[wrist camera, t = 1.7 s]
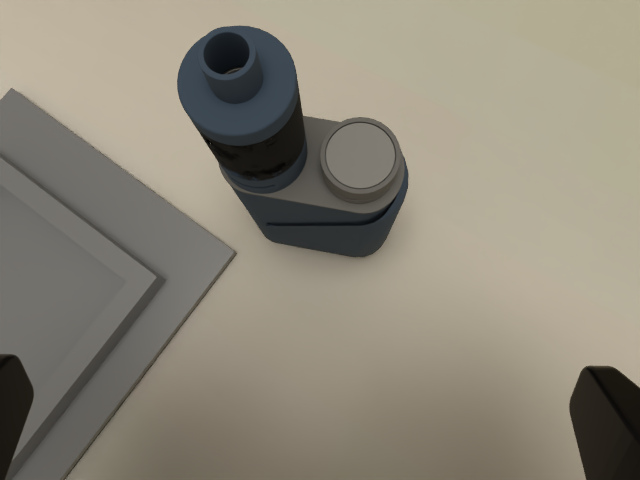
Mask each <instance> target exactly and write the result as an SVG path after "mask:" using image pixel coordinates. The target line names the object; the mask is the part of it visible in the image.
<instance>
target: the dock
mask: <svg viewBox="0 0 640 480" xmlns="http://www.w3.org/2000/svg"><path fill="white" fill-rule="evenodd" d="M236 254H237V253H236V252H235V251H233V250H232V249H231V248H229V247H228V246H227V245H225V244H224V243H222V242H221V241H220V240H218V239H217V238H216V237H214V236H213V235H212V234H210V233H209V232H207V231H206V230H205V229H203V228H202V227H201V226H199V225H198V224H197V223H195V222H194V221H192V220H191V219H190V218H188V217H187V216H186V215H184V214H183V213H182V212H180V211H179V210H177V209H176V208H175V207H173V206H172V205H171V204H169V203H168V202H167V201H165V200H164V199H162V198H161V197H160V196H158V195H157V194H156V193H154V192H153V191H152V190H150V189H149V188H147V187H146V186H145V185H143V184H142V183H141V182H139V181H138V180H137V179H135V178H134V177H133V176H131V175H130V174H128V173H127V172H126V171H124V170H123V169H122V168H120V167H119V166H118V165H116V164H115V163H113V162H112V161H111V160H109V159H108V158H107V157H105V156H104V155H103V154H101V153H100V152H98V151H97V150H96V149H94V148H93V147H92V146H90V145H89V144H88V143H86V142H85V141H83V140H82V139H81V138H79V137H78V136H77V135H75V134H74V133H73V132H71V131H70V130H68V129H67V128H66V127H64V126H63V125H62V124H60V123H59V122H58V121H56V120H55V119H53V118H52V117H51V116H49V115H48V114H47V113H45V112H44V111H43V110H41V109H40V108H39V107H37V106H36V105H34V104H33V103H32V102H30V101H29V100H28V99H26V98H25V97H24V96H22V95H21V94H19V93H18V92H17V91H15V90H14V89H13V88H11V89H10V90H9V91H8V92H7V93H6V95H5V96H4V97H3V98H2V99H1V100H0V354H14V355H16V356H17V357H19V359H20V360H21V362H22V364H23V366H24V369H25V371H26V373H27V375H28V377H29V379H30V381H31V383H32V386H33V389H34V398H33V403H32V406H31V409H30V412H29V414H28V417H27V420H26V423H25V426H24V428H23V431H22V434H21V437H20V440H19V442H18V445H17V448H16V451H15V454H14V457H13V459H12V462H11V465H10V468H9V471H8V473H7V476H6V479H5V480H64V479H65V477H66V476H67V475H68V473H69V472H70V471H71V469H72V468H73V467H74V465H75V464H76V463H77V462H78V460H79V459H80V458H81V456H82V455H83V454H84V452H85V451H86V450H87V448H88V447H89V446H90V445H91V443H92V442H93V441H94V439H95V438H96V437H97V435H98V434H99V433H100V431H101V430H102V429H103V428H104V426H105V425H106V424H107V422H108V421H109V420H110V418H111V417H112V416H113V414H114V413H115V412H116V411H117V409H118V408H119V407H120V405H121V404H122V403H123V401H124V400H125V399H126V397H127V396H128V395H129V394H130V392H131V391H132V390H133V388H134V387H135V386H136V384H137V383H138V382H139V380H140V379H141V378H142V377H143V375H144V374H145V373H146V371H147V370H148V369H149V367H150V366H151V365H152V363H153V362H154V361H155V360H156V358H157V357H158V356H159V354H160V353H161V352H162V350H163V349H164V348H165V346H166V345H167V344H168V342H169V341H170V340H171V339H172V337H173V336H174V335H175V333H176V332H177V331H178V329H179V328H180V327H181V325H182V324H183V323H184V322H185V320H186V319H187V318H188V316H189V315H190V314H191V312H192V311H193V310H194V308H195V307H196V306H197V305H198V303H199V302H200V301H201V299H202V298H203V297H204V295H205V294H206V293H207V291H208V290H209V289H210V288H211V286H212V285H213V284H214V282H215V281H216V280H217V278H218V277H219V276H220V274H221V273H222V272H223V271H224V269H225V268H226V267H227V265H228V264H229V263H230V261H231V260H232V259H233V257H234V256H235V255H236Z"/></svg>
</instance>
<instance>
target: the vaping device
mask: <svg viewBox="0 0 640 480" xmlns="http://www.w3.org/2000/svg"><path fill="white" fill-rule="evenodd" d="M177 86H178V94H179V99H180V101H181V104H182V106H183V108H184V110H185V111H186V113H187V114H188V116H189V117H190V119H191V120H192V122H193V124H194V125H195V127H196V128H197V129H198V131H199V133H200V134H201V136H202V137H203V139H204V140H205V142H206V144H207V145H208V147H209V148H210V150H211V151H212V153H213V154H214V156H215V157H216V159H217V160H218V162H219V167H220V170H221V173H222V174H223V176H224V178H225V180H226V181H227V182H228V183H229V184H230V185H231V187H232V188H233V190H234V191H235V193H236V194H237V196H238V197H239V199H240V200H241V202H242V203H243V204H244V206H245V207H246V209H247V210H248V212H249V213H250V215H251V216H252V218H253V219H254V221H255V222H256V224H257V225H258V227H259V228H260V230H261V231H262V233H263V234H264V236H265V237H266V238H268V239H269V240H271V241H273V242H276V243H281V244H286V245H292V246H297V247H302V248H308V249H313V250H319V251H324V252H330V253H335V254H340V255H346V256H352V257H365V256H367V255H370V254H373V253H374V252H375V251H376V250H378V249H379V248H380V247H381V246H382V244H383V243H384V241H385V240H386V238H387V236H388V233H389V231H390V229H391V227H392V225H393V223H394V221H395V218H396V216H397V214H398V212H399V210H400V208H401V205H402V203H403V201H404V198H405V195H406V192H407V189H408V170H407V166H406V162H405V158H404V157H403V154H402V152H401V149H400V146H399V143H398V141H397V139H396V137H395V135H394V134H393V133H392V131H391V130H390V129H389V128H388V127H387V126H385V125H384V124H382V123H381V122H379V121H376V120H374V119H370V118H363V117H358V118H351V119H347V120H344V121H342V122H336V121H330V120H324V119H318V118H312V117H306V116H303V114H302V108H301V101H300V94H299V88H298V81H297V74H296V69H295V65H294V61H293V59H292V57H291V55H290V53H289V51H288V50H287V49H286V47H285V46H284V45H283V44H282V43H281V42H280V41H279V40H278V39H277V38H276V37H274V36H272V35H271V34H269V33H268V32H265V31H263V30H261V29H258V28H254V27H249V26H230V27H221V28H217V29H215V30H213V31H211V32H209V33H208V34H207V35H206V36H204V37H202V38H201V39H200V40H199V41H197V42H196V43H195V44H194V45H193V46H192V47H191V49H190V50H189V51H188V52H187V54H186V56H185V57H184V59H183V61H182V63H181V66H180V69H179V73H178V79H177ZM210 143H211V144H210ZM211 147H212V148H211Z"/></svg>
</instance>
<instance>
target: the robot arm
mask: <svg viewBox="0 0 640 480" xmlns="http://www.w3.org/2000/svg"><path fill="white" fill-rule="evenodd" d="M33 398H34V389H33V386H32V383H31V381H30V379H29V377H28V375H27V373H26V371H25V369H24V366H23V364H22V362H21V360H20V359H19V357H17V356H16V355H14V354H0V480H5V479H6V476H7V473H8V471H9V468H10V465H11V462H12V459H13V457H14V454H15V451H16V448H17V445H18V442H19V440H20V437H21V434H22V431H23V428H24V426H25V423H26V420H27V417H28V414H29V412H30V409H31V406H32V403H33ZM569 409H570V416H571V420H572V424H573V428H574V432H575V436H576V440H577V444H578V448H579V452H580V456H581V460H582V464H583V468H584V472H585V476H586V480H640V388H639V387H638V386H637V385H636V384H635V383H633V382H632V381H631V380H630V379H628V378H627V377H626V376H625V375H623V374H622V373H621V372H620V371H618V370H617V369H615V368H613V367H610V366H586V367H585V368H583V369H582V371H581V373H580V376H579V378H578V381H577V383H576V386H575V388H574V391H573V394H572V396H571V399H570V404H569Z"/></svg>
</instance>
